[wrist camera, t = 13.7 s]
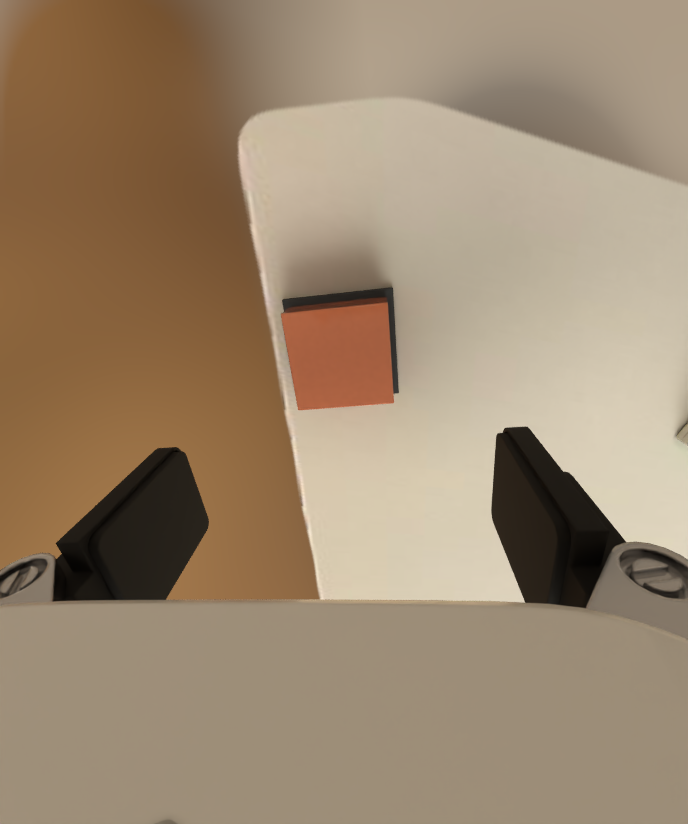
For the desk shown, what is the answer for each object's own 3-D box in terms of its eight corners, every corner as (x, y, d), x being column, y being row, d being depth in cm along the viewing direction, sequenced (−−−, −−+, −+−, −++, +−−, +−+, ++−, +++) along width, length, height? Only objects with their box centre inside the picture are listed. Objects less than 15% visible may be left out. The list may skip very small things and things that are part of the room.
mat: (392, 287, 27) (392, 287, 27) (398, 391, 31) (398, 393, 30) (283, 299, 28) (281, 300, 28) (300, 399, 32) (299, 401, 31)
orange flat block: (386, 296, 27) (387, 302, 24) (392, 388, 30) (394, 403, 27) (289, 306, 28) (280, 313, 25) (304, 395, 31) (298, 410, 28)
